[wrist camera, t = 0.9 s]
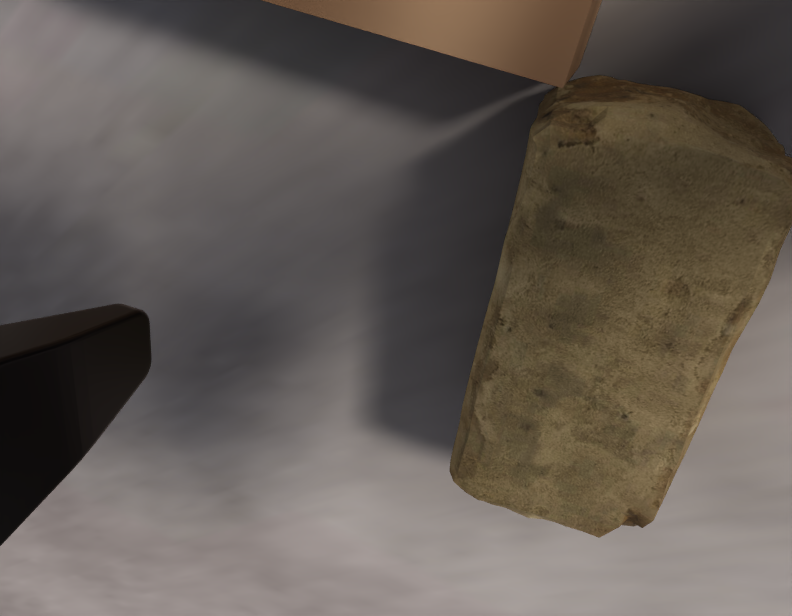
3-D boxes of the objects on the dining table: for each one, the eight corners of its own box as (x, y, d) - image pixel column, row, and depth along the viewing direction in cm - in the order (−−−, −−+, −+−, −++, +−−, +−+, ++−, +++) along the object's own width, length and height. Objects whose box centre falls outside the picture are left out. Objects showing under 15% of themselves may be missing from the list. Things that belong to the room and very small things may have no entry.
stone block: (474, 407, 23) (436, 502, 19) (555, 58, 18) (527, 82, 14) (646, 460, 22) (646, 575, 18) (789, 101, 17) (838, 142, 12)
